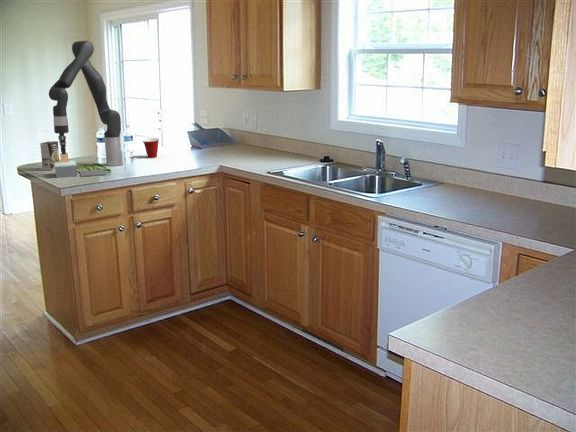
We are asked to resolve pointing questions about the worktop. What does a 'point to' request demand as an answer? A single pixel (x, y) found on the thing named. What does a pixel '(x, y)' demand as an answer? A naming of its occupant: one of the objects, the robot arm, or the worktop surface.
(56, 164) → the lid
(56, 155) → the coffee box
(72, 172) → the tub
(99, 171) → the mat
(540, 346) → the worktop surface
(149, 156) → the plastic cup
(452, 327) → the worktop surface
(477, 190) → the worktop surface
